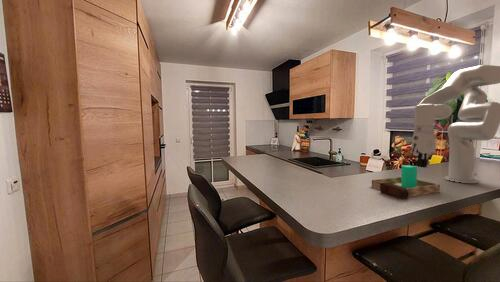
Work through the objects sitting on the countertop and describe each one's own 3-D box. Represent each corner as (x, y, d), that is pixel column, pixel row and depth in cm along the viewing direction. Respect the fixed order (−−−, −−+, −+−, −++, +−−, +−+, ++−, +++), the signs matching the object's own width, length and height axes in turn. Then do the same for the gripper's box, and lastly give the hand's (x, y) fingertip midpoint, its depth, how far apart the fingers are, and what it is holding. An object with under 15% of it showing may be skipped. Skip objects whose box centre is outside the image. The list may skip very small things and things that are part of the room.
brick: (379, 192, 97) (379, 182, 97) (386, 191, 98) (386, 182, 98) (401, 200, 87) (401, 189, 87) (408, 199, 88) (409, 188, 88)
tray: (403, 182, 112) (403, 176, 111) (439, 191, 95) (439, 184, 95) (371, 186, 106) (371, 180, 106) (404, 197, 90) (404, 189, 90)
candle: (419, 188, 99) (420, 163, 98) (407, 189, 99) (407, 164, 98) (410, 185, 105) (410, 161, 104) (398, 185, 105) (398, 161, 104)
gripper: (420, 129, 96) (418, 169, 97) (443, 129, 100) (441, 167, 101) (404, 129, 104) (402, 166, 105) (426, 129, 108) (425, 164, 109)
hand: (422, 166), depth 103 cm, fingers closed
